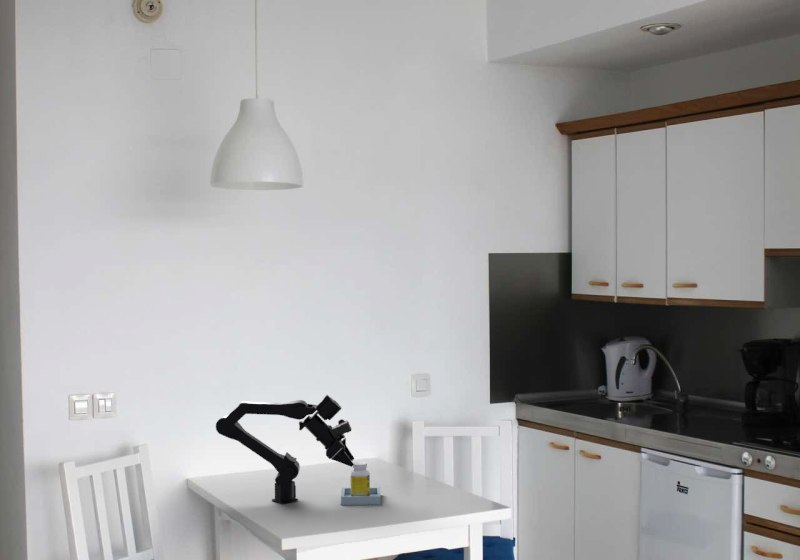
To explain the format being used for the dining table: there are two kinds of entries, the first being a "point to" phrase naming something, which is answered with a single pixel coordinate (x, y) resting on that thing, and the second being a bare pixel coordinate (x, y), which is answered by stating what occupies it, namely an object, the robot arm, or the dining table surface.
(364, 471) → the pill bottle
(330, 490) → the dining table surface
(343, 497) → the dish
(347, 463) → the robot arm
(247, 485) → the dining table surface
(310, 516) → the dining table surface
